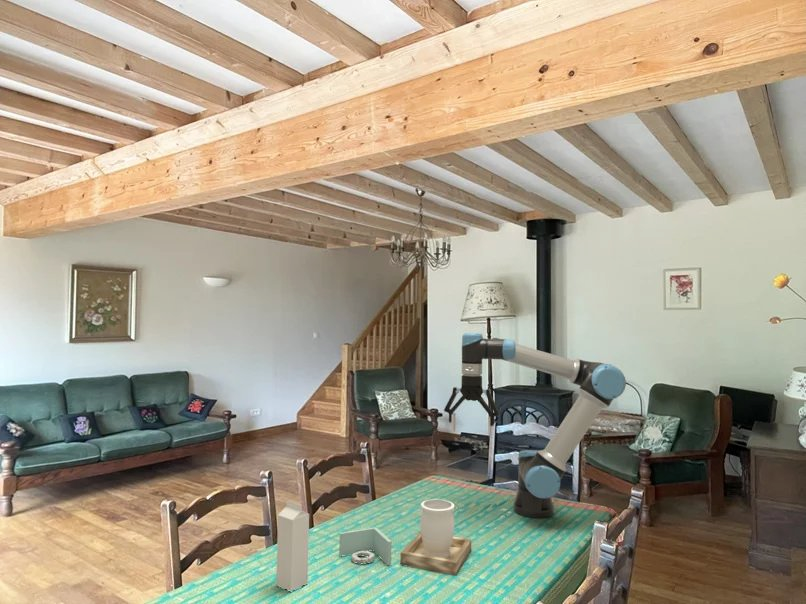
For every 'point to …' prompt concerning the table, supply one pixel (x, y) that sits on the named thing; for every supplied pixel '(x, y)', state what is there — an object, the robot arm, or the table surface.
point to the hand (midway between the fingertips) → (471, 433)
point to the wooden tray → (450, 565)
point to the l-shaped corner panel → (365, 545)
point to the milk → (292, 547)
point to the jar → (437, 527)
